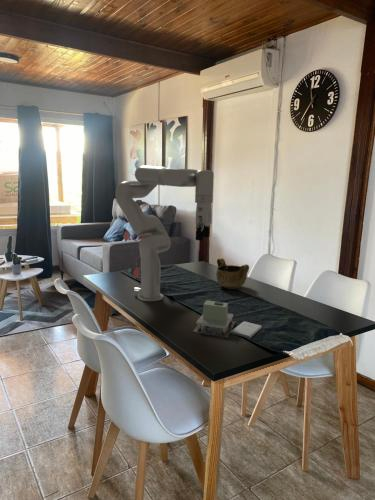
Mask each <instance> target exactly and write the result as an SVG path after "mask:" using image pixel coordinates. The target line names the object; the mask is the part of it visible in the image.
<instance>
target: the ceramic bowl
mask: <svg viewBox="0 0 375 500" xmlns="http://www.w3.org/2000/svg"><path fill="white" fill-rule="evenodd" d="M216 262H217V267H216V273H215V276H216V281H217V283H218V284H219V285H220V286H221V287H223V288H225V289H228V290H236V289H239V288H240V287H242V286H243V285H244V284H245V283H246V282H247V281H246V280H247V275H248V272H249V270H250V266H249V264H242V265H241V266H240V265H228V264H226V260H225V259H224V258H221V257H220V258H217V260H216Z"/></svg>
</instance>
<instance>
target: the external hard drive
mask: <svg viewBox="0 0 375 500" xmlns="http://www.w3.org/2000/svg"><path fill="white" fill-rule="evenodd" d="M261 329H262V325H261V324H256V323H252V322H248V321H245V320H244V321H243V322H241V323H239V324H238V325H237V326H235V327H233V329H232V331H231V332H230V334H233V335H235V336H240V337H243V338H246V339H251V338H253V336H254V335H255V334H256V333H258V332H259V331H260V330H261Z"/></svg>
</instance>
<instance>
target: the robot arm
mask: <svg viewBox="0 0 375 500" xmlns="http://www.w3.org/2000/svg"><path fill="white" fill-rule="evenodd" d="M214 177H215V176H214V171H212V170H210V169H192V168H191V169H190V168H174V167H173V168H172V167H171V168H170V167H167V166H165V165H164V166H163V165H162V166H159V165H140V166H138V167H137V168H136V169H135V170H134V178H135V179H136V180H124V181H122V182H120V183H118V184H117V186H116V188H115V200H116V203H117V204H118V206H119V208H120V209H121V211H122V212H123V214H124V215H125V218H126V219H127V221H128V223H129V225H130V227H131V229H132V231H133V233H134V234H135V235H147V234H150V235H147V236H145V237H143V238H142V239H140V240H139V242H138V249H139V256H140V287H134V288H133V292H134V293H135V294H137V299H138V300H140V301H142V302H151V303H152V302H158V301H161V300H164V299H163V298H164V294H163V293H161V260H160V259H161V258H160V257H159V254H160V253H164V252H167V251H168V250H169V249H170V247H171V245H172V243H171V238H170V236H169V234H168V232H167V230H166V229H165V226H164V224H163V223H162V220H161V219H160V218H159V217H158V216H156V215H154V214H145V213H144V211H143V210H142V207H141V206H140V205H139V204H138V203H137V202H136V201H135V200H134V199H143V198H146V197H147V196H148V195H149V194H150V193H151V192H152V191H153V190H154V189H155V188H156V187H157V186H167V187H168V186H169V187H179V188H180V187H181V188H186V187H187V188H193V187H195V188H194V189H195V190H194V191H195V193H194V195H195V196H194V198H195V199H194V203H196V209H195V210H196V211H195V225H196V226H195V241H201V242H202V241H204V238H210V225H212V223H213V222H212V221H213V220H212V217H213V216H212V215H213V214H212V213H213V210H212V203H213V200H214V199H213V198H214V197H213V196H214Z"/></svg>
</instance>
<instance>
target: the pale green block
mask: <svg viewBox="0 0 375 500" xmlns="http://www.w3.org/2000/svg"><path fill="white" fill-rule="evenodd" d="M228 309H229V303H228V302H224V301H213V300H205V301H204V302H203V307H202V314H203V318H204V319H210V320H217V321H224V322H225V320H226V319H227V315H228V313H229V310H228Z"/></svg>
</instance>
